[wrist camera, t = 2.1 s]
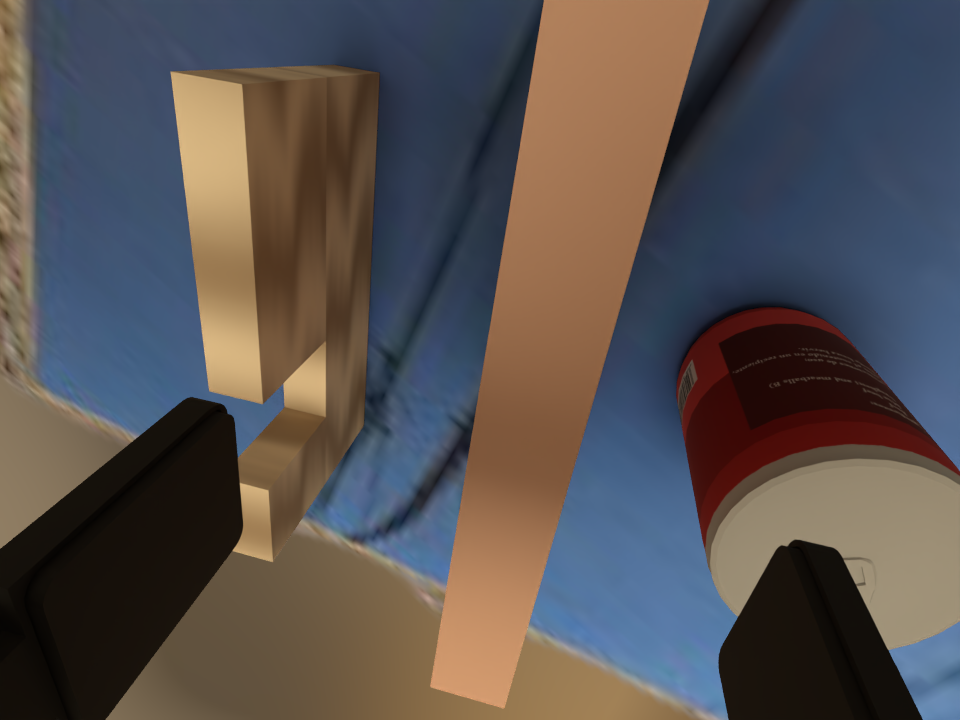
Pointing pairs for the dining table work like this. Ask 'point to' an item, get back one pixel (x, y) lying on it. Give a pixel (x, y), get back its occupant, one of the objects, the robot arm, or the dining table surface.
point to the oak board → (283, 266)
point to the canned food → (818, 469)
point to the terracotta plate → (556, 307)
